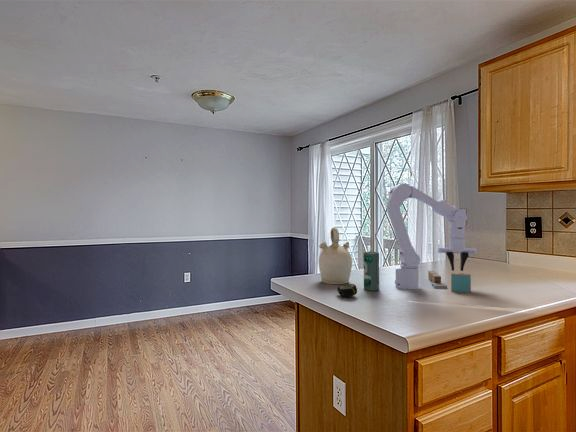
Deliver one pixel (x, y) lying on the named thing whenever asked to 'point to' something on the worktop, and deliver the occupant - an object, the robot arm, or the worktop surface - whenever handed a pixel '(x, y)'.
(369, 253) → the can
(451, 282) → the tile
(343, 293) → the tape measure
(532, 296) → the worktop surface
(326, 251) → the jug
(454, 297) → the worktop surface
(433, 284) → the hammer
